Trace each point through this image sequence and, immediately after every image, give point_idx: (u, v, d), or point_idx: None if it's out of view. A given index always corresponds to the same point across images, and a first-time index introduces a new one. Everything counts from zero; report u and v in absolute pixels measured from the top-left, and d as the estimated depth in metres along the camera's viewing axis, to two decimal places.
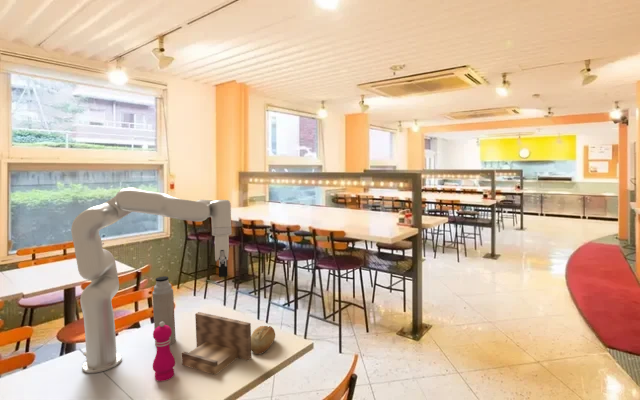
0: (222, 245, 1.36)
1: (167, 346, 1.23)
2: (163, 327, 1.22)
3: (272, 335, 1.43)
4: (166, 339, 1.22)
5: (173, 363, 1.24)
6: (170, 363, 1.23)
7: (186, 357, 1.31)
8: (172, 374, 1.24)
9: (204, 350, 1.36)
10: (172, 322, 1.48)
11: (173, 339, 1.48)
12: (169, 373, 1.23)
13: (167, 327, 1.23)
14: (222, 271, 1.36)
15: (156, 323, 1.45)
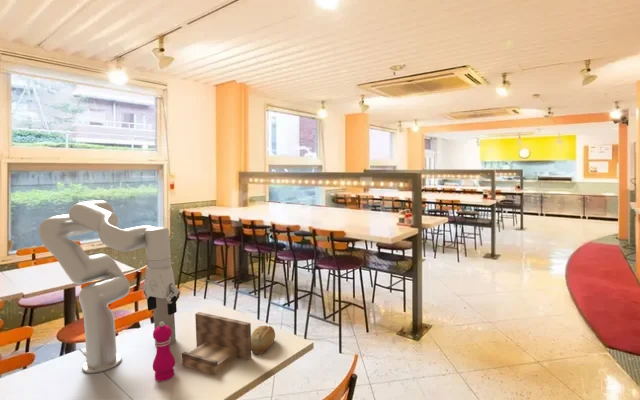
0: (170, 278, 1.20)
1: (167, 346, 1.23)
2: (163, 327, 1.22)
3: (272, 335, 1.43)
4: (166, 339, 1.22)
5: (173, 363, 1.24)
6: (170, 363, 1.23)
7: (186, 357, 1.31)
8: (172, 374, 1.24)
9: (204, 350, 1.36)
10: (172, 322, 1.48)
11: (173, 339, 1.48)
12: (169, 373, 1.23)
13: (167, 327, 1.23)
14: (173, 307, 1.20)
15: (156, 323, 1.45)
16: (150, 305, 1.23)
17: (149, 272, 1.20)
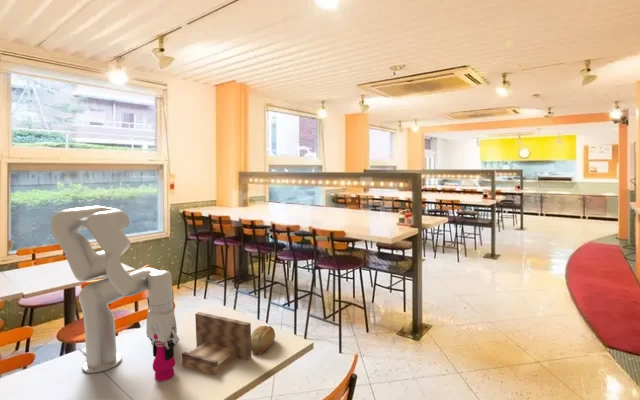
0: (172, 322, 1.21)
1: None
2: None
3: (272, 335, 1.43)
4: None
5: (173, 363, 1.24)
6: (170, 363, 1.23)
7: (186, 357, 1.31)
8: (172, 374, 1.24)
9: (204, 350, 1.36)
10: None
11: None
12: (169, 373, 1.23)
13: None
14: (170, 352, 1.22)
15: None
16: (155, 351, 1.24)
17: (151, 316, 1.21)
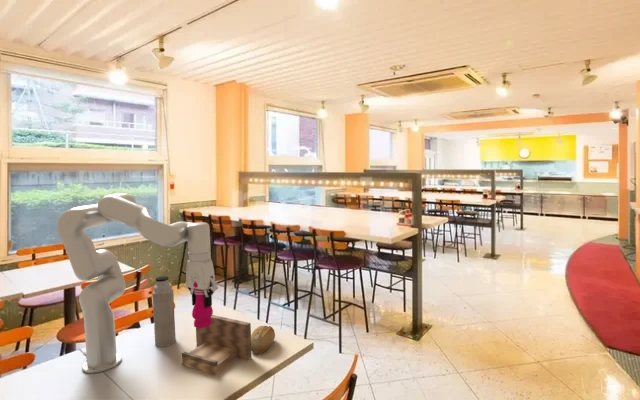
0: (211, 271, 1.26)
1: None
2: None
3: (272, 335, 1.43)
4: None
5: (211, 311, 1.29)
6: (208, 311, 1.28)
7: (186, 357, 1.31)
8: (210, 322, 1.29)
9: (204, 350, 1.36)
10: (172, 322, 1.48)
11: (173, 339, 1.48)
12: (208, 321, 1.28)
13: None
14: (209, 301, 1.27)
15: (156, 323, 1.45)
16: (194, 300, 1.29)
17: (191, 265, 1.26)
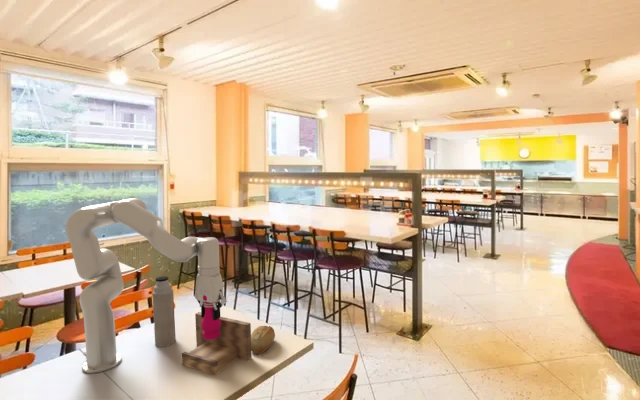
0: (220, 285, 1.31)
1: None
2: None
3: (272, 335, 1.43)
4: None
5: (220, 323, 1.34)
6: (217, 323, 1.32)
7: (186, 357, 1.31)
8: (219, 334, 1.34)
9: (204, 350, 1.36)
10: (172, 322, 1.48)
11: (173, 339, 1.48)
12: (216, 332, 1.33)
13: None
14: (218, 313, 1.32)
15: (156, 323, 1.45)
16: (203, 312, 1.34)
17: (200, 279, 1.31)
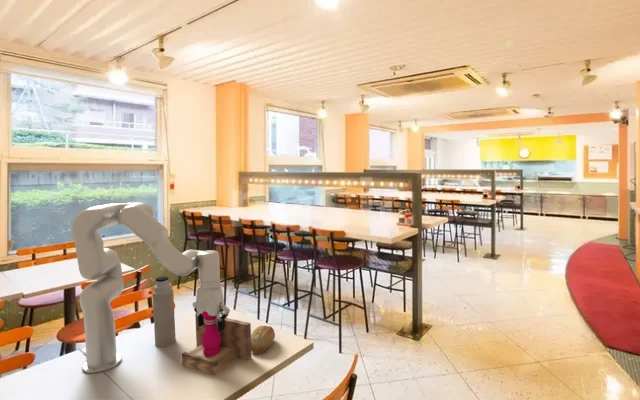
0: (220, 298, 1.31)
1: (215, 324, 1.33)
2: None
3: (271, 335, 1.43)
4: (214, 317, 1.32)
5: (220, 340, 1.34)
6: (217, 340, 1.33)
7: (186, 357, 1.31)
8: (219, 350, 1.34)
9: None
10: (172, 322, 1.48)
11: (173, 339, 1.48)
12: (217, 349, 1.33)
13: None
14: (223, 324, 1.31)
15: (156, 323, 1.45)
16: (200, 321, 1.35)
17: (201, 292, 1.31)
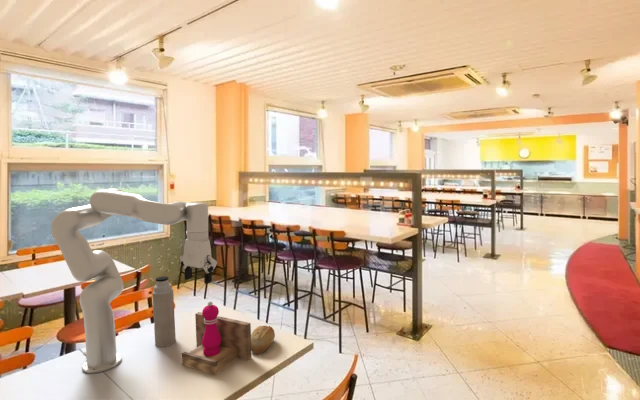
0: (208, 250, 1.29)
1: (215, 324, 1.33)
2: (211, 306, 1.33)
3: (271, 335, 1.43)
4: (214, 317, 1.32)
5: (220, 340, 1.34)
6: (217, 340, 1.33)
7: (186, 357, 1.31)
8: (219, 350, 1.34)
9: None
10: (172, 322, 1.48)
11: (173, 339, 1.48)
12: (217, 349, 1.33)
13: (215, 306, 1.33)
14: (209, 277, 1.30)
15: (156, 323, 1.45)
16: (187, 275, 1.33)
17: (188, 244, 1.29)
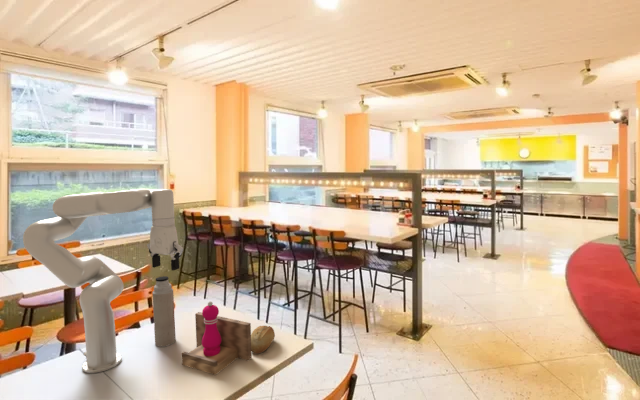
0: (174, 236, 1.28)
1: (215, 324, 1.33)
2: (211, 306, 1.33)
3: (271, 335, 1.43)
4: (214, 317, 1.32)
5: (220, 340, 1.34)
6: (217, 340, 1.33)
7: (186, 357, 1.31)
8: (219, 350, 1.34)
9: None
10: (172, 322, 1.48)
11: (173, 339, 1.48)
12: (217, 349, 1.33)
13: (215, 306, 1.33)
14: (176, 263, 1.28)
15: (156, 323, 1.45)
16: (154, 262, 1.32)
17: (154, 231, 1.28)
